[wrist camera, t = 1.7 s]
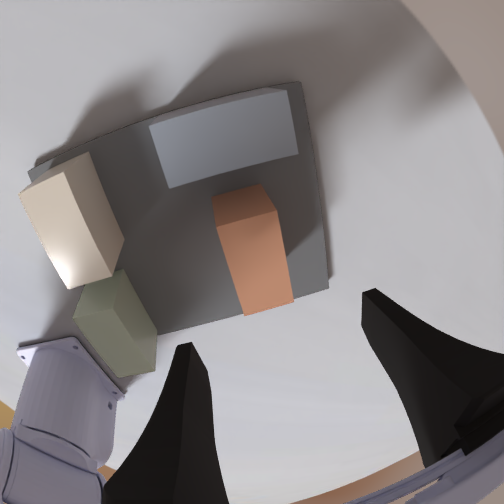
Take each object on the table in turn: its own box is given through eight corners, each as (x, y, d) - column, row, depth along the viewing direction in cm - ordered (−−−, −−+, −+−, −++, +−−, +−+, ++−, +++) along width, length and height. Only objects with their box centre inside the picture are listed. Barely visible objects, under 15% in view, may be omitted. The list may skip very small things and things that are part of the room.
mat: (326, 284, 24) (329, 288, 24) (122, 339, 24) (121, 343, 23) (298, 81, 16) (300, 81, 16) (30, 169, 15) (27, 171, 15)
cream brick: (124, 239, 19) (112, 276, 15) (85, 252, 19) (68, 289, 15) (88, 151, 15) (63, 171, 12) (48, 169, 15) (17, 194, 12)
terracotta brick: (277, 264, 22) (294, 301, 18) (235, 276, 22) (244, 316, 18) (260, 183, 18) (276, 210, 15) (211, 196, 18) (216, 227, 15)
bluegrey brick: (266, 87, 15) (286, 90, 12) (277, 137, 17) (298, 153, 14) (158, 115, 15) (148, 126, 12) (174, 165, 17) (169, 188, 14)
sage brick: (157, 330, 23) (155, 371, 20) (123, 338, 23) (117, 377, 19) (123, 268, 20) (112, 308, 16) (87, 279, 20) (72, 318, 16)
